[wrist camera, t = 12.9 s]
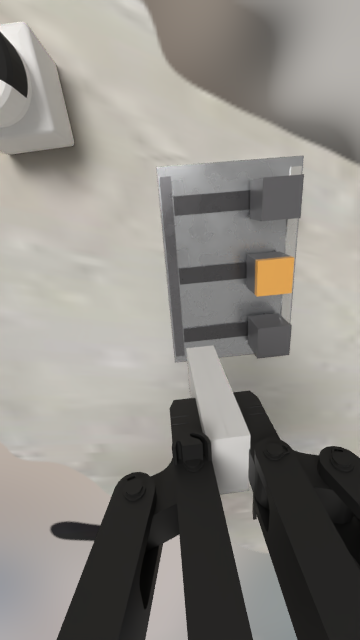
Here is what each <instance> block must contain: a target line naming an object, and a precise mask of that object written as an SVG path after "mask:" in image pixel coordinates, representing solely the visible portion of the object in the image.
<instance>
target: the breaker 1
mask: <svg viewBox="0 0 360 640" xmlns="http://www.w3.org/2000/svg"><path fill="white" fill-rule="evenodd" d="M303 179H304V174H301V175H288V176H276V177H263V178H258V179H253V180H250V219H253V220H258V221H271V220H283V219H294V218H300V216H301V203H302V191H303Z"/></svg>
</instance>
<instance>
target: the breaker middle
mask: <svg viewBox="0 0 360 640" xmlns="http://www.w3.org/2000/svg"><path fill="white" fill-rule="evenodd" d="M293 270H294V257H292V256H289V255H287V254H285V253H282V252H280V251H279V252H268V253H257V254H247V274H246V287H247V288H248V289H249V290H250V291H251V292H252V293H254V294H255V295H256V296H257V297H258V296H268V295H278V294H288V293H292V283H293Z"/></svg>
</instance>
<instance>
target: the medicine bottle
mask: <svg viewBox="0 0 360 640" xmlns="http://www.w3.org/2000/svg"><path fill="white" fill-rule="evenodd" d="M73 145H74V139H73V134H72V130H71V126H70V122H69V118H68V113H67V109H66V105H65V101H64V97H63V92H62V88H61V84H60V80H59V76H58V71H57V67H56V64H55V62H54V60H53V59H52V58H51V56H50V55H49V53H48V52H47V51H46V49H45V48H44V46H43V45H42V44H41V42H40V41H39V39H38V38H37V37H36V35H35V34H34V32H33V31H32V30H31V28H30V27H29V26H28V24H27V23H25V22H14V23H6V24H0V152H2V153H6V154H9V155H11V154H19V153H26V152H33V151H40V150H48V149H55V148H62V147H69V146H73Z"/></svg>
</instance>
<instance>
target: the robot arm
mask: <svg viewBox="0 0 360 640" xmlns="http://www.w3.org/2000/svg"><path fill="white" fill-rule="evenodd" d="M186 351H187V364H188V377H189V390H190V395H191V398H189V399H181V400H174V401H173V403H172V405H171V407H170V417H171V430H172V442H173V444H172V453H173V458H172V461H171V463H170V464H169V466H168V467H167V468H166V469H164V470H163V471H161V472H160V473H158V474H155V475H153V476H151V477H150V476H149V475H148V474H145V473H142V472H135V473H131V474H129V475H126V476H125V477H123V478H122V479H121V480H120V481H119V482H118V484H117V485H116V487H115V489H114V492H113V494H112V497H111V500H110V502H109V505H108V508H107V510H106V513H105V515H104V518H103V520H102V523H101V526H100V528H99V531H98V533H97V536H96V539H95V541H94V544H93V546H92V549H91V552H90V554H89V557H88V560H87V562H86V565H85V567H84V570H83V572H82V575H81V578H80V580H79V583H78V585H77V588H76V591H75V594H74V596H73V598H72V601H71V604H70V606H69V609H68V612H67V614H66V617H65V620H64V622H63V624H62V627H61V630H60V632H59V635H58V638H57V640H145V637H146V632H147V627H148V621H149V616H150V611H151V605H152V600H153V595H154V589H155V584H156V578H157V573H158V567H159V562H160V557H161V552H162V546H163V543H164V542H166V541H168V540H169V539H172V538H174V537H175V536H177V535H179V534H180V546H181V558H182V571H183V583H184V596H185V608H186V620H187V631H188V640H253V638H252V633H251V629H250V625H249V620H248V616H247V612H246V608H245V603H244V598H243V594H242V590H241V585H240V581H239V577H238V572H237V568H236V563H235V559H234V555H233V551H232V546H231V542H230V537H229V533H228V528H227V524H226V520H225V515H224V511H223V507H222V502H221V498H220V494H228V493H235V492H243V491H249V482H250V485H251V487H252V490H253V520H254V519H256V517H258V520H259V523H260V526H261V529H262V532H263V535H264V538H265V541H266V544H267V547H268V550H269V554H270V557H271V560H272V563H273V566H274V569H275V572H276V575H277V578H278V581H279V584H280V587H281V590H282V593H283V596H284V599H285V602H286V606H287V609H288V612H289V615H290V618H291V621H292V624H293V627H294V630H295V633H296V636H297V639H298V640H360V458H359V457H358V456H357V455H355V454H354V453H352V452H351V451H349V450H347V449H344V448H342V447H336V446H331V447H326V448H324V449H323V450H321V452H320V455H319V456H318V455H311V454H304V453H300V452H297V451H294V450H292V449H291V447H290V446H289V445H288V444H287V443H285V442H283V441H282V440H280V438H279V436H278V435H277V433H276V431H275V429H274V427H273V425H272V423H271V421H270V419H269V417H268V416H267V414H266V412H265V410H264V408H263V407H262V404H261V402H260V400H259V399H258V397H257V396H256V395H254V394H253V393H252V392H251V391H243V392H234V393H233V391H232V389H231V387H230V384H229V382H228V379H227V377H226V375H225V372H224V370H223V367H222V365H221V362H220V360H219V358H218V355H217V353H216V350H215V348H214V345H212V346H203V347H193V348H186Z"/></svg>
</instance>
